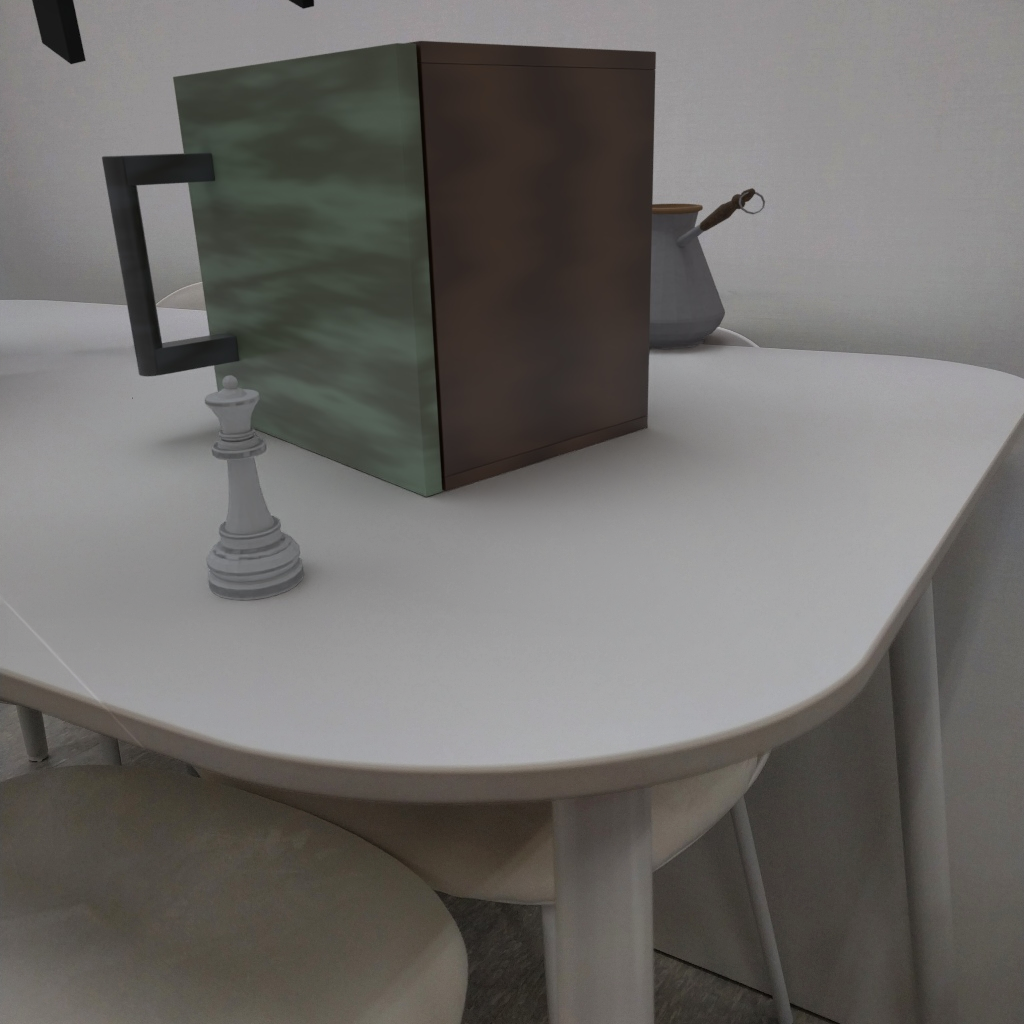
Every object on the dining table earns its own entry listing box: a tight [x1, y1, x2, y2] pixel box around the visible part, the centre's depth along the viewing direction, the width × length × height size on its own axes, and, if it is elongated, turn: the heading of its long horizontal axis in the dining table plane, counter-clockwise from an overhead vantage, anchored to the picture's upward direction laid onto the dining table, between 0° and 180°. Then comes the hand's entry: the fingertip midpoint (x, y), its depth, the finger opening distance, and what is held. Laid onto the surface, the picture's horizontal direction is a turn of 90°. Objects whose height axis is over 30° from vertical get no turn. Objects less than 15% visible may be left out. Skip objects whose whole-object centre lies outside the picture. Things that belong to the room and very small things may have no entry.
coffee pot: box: [649, 187, 766, 350], centre depth 89 cm, size 21×12×15 cm, turn 17°
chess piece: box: [204, 375, 305, 601], centre depth 44 cm, size 4×4×10 cm
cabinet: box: [406, 40, 657, 493], centre depth 67 cm, size 18×26×24 cm
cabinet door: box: [101, 42, 443, 497], centre depth 59 cm, size 8×26×24 cm, turn 42°
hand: (187, 24), depth 51 cm, fingers open, 13 cm apart
